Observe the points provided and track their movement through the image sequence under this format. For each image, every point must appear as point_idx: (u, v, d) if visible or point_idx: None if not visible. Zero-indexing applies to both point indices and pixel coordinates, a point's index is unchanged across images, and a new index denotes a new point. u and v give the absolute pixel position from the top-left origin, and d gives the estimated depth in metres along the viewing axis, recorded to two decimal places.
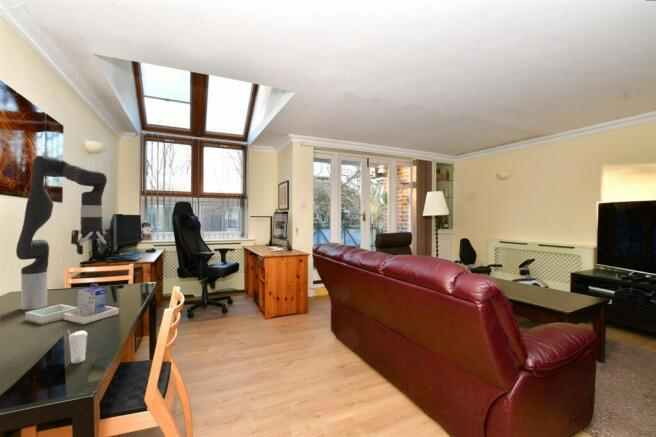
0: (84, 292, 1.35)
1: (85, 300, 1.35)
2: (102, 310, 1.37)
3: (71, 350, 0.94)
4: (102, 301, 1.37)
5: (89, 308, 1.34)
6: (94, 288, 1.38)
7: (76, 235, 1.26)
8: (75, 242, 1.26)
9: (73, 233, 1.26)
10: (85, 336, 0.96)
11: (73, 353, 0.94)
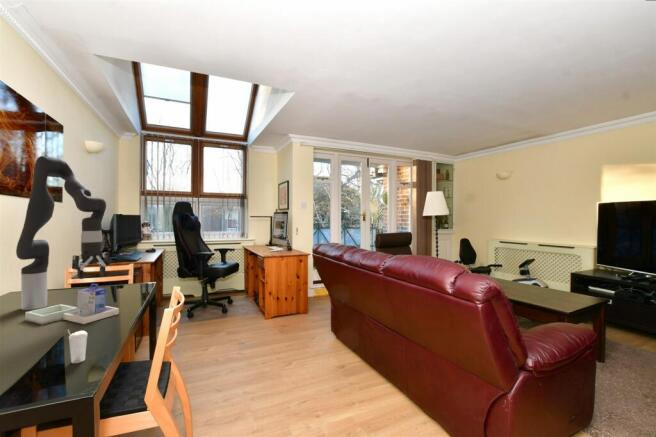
0: (84, 292, 1.35)
1: (85, 300, 1.35)
2: (102, 310, 1.37)
3: (71, 350, 0.94)
4: (102, 301, 1.37)
5: (89, 308, 1.34)
6: (94, 288, 1.38)
7: (77, 260, 1.31)
8: (76, 267, 1.31)
9: (74, 258, 1.31)
10: (85, 336, 0.96)
11: (73, 353, 0.94)
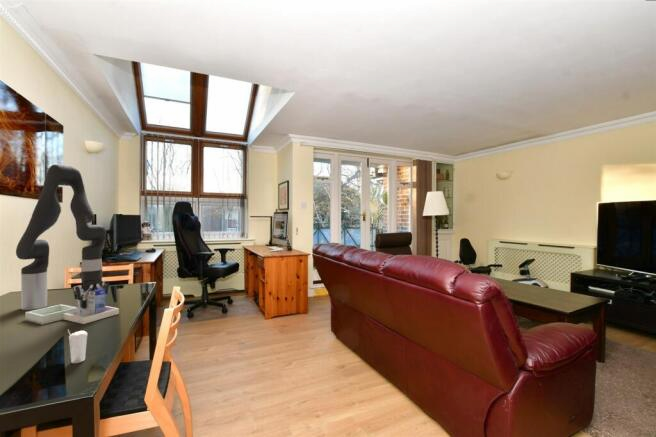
0: (84, 292, 1.35)
1: None
2: (102, 310, 1.37)
3: (71, 350, 0.94)
4: (102, 301, 1.37)
5: (89, 308, 1.34)
6: None
7: (78, 291, 1.31)
8: (79, 298, 1.32)
9: (75, 290, 1.31)
10: (85, 336, 0.96)
11: (73, 353, 0.94)
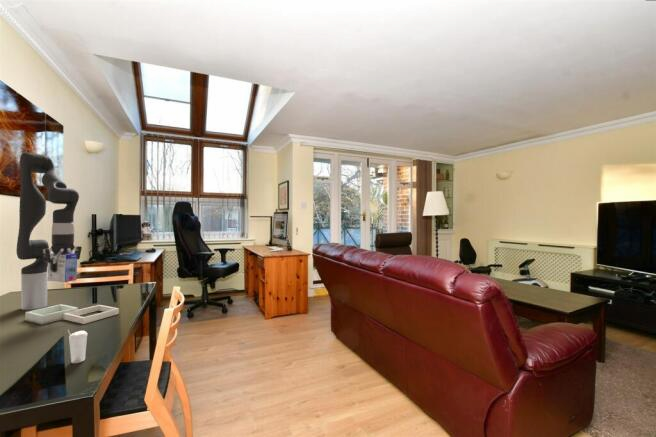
0: (54, 255, 1.34)
1: None
2: (73, 274, 1.36)
3: (71, 350, 0.94)
4: (73, 265, 1.36)
5: (59, 272, 1.33)
6: None
7: (47, 254, 1.30)
8: (48, 261, 1.30)
9: (44, 252, 1.30)
10: (85, 336, 0.96)
11: (73, 353, 0.94)
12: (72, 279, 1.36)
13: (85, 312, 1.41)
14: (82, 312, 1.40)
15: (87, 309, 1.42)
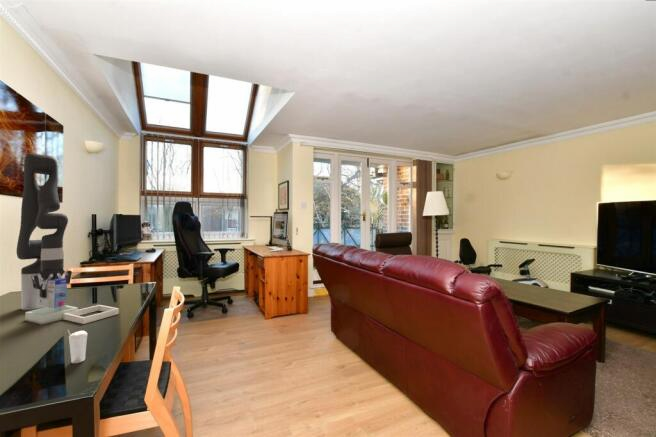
0: (44, 281, 1.33)
1: None
2: (63, 299, 1.35)
3: (71, 350, 0.94)
4: (63, 290, 1.35)
5: (49, 298, 1.32)
6: None
7: (36, 280, 1.29)
8: (37, 287, 1.30)
9: (33, 279, 1.29)
10: (85, 336, 0.96)
11: (73, 353, 0.94)
12: (62, 304, 1.35)
13: (85, 312, 1.41)
14: (82, 312, 1.40)
15: (87, 309, 1.42)
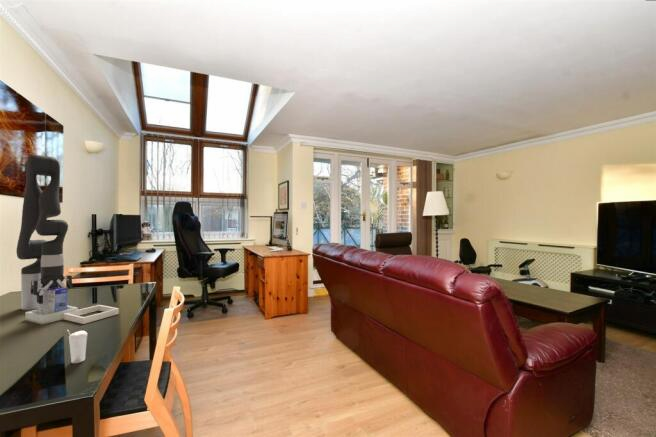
0: (45, 291, 1.34)
1: (45, 299, 1.34)
2: (63, 309, 1.35)
3: (71, 350, 0.94)
4: (63, 300, 1.35)
5: (49, 307, 1.33)
6: (56, 287, 1.36)
7: (35, 286, 1.29)
8: (34, 293, 1.29)
9: (32, 284, 1.29)
10: (85, 336, 0.96)
11: (73, 353, 0.94)
12: None
13: (85, 312, 1.41)
14: (82, 312, 1.40)
15: (87, 309, 1.42)
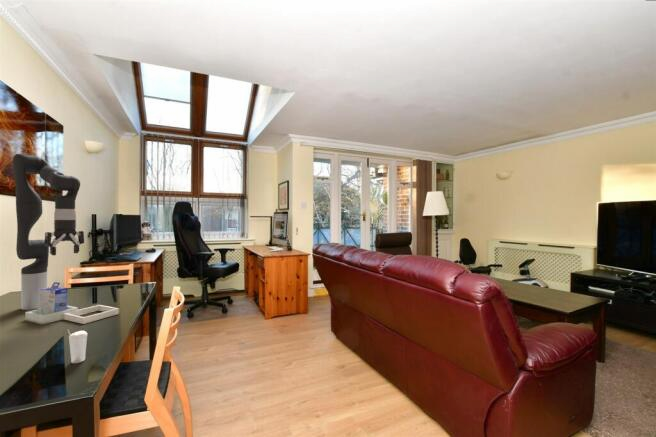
0: (45, 291, 1.34)
1: (45, 299, 1.34)
2: (63, 309, 1.35)
3: (71, 350, 0.94)
4: (63, 300, 1.35)
5: (49, 307, 1.33)
6: (56, 287, 1.36)
7: (49, 237, 1.34)
8: (48, 244, 1.33)
9: (46, 235, 1.34)
10: (85, 336, 0.96)
11: (73, 353, 0.94)
12: None
13: (85, 312, 1.41)
14: (82, 312, 1.40)
15: (87, 309, 1.42)
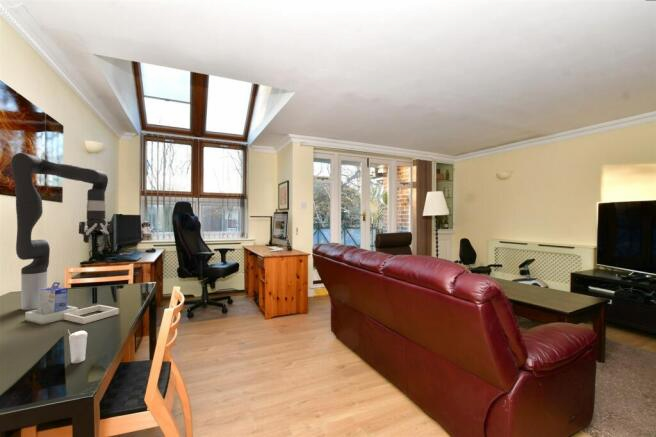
0: (45, 291, 1.34)
1: (45, 299, 1.34)
2: (63, 309, 1.35)
3: (71, 350, 0.94)
4: (63, 300, 1.35)
5: (49, 307, 1.33)
6: (56, 287, 1.36)
7: (83, 226, 1.47)
8: (82, 232, 1.47)
9: (80, 224, 1.47)
10: (85, 336, 0.96)
11: (73, 353, 0.94)
12: None
13: (85, 312, 1.41)
14: (82, 312, 1.40)
15: (87, 309, 1.42)
